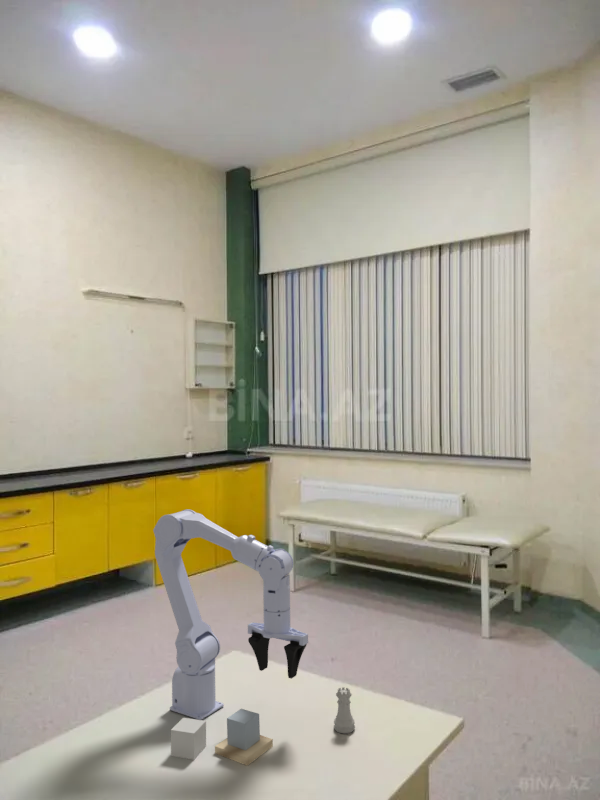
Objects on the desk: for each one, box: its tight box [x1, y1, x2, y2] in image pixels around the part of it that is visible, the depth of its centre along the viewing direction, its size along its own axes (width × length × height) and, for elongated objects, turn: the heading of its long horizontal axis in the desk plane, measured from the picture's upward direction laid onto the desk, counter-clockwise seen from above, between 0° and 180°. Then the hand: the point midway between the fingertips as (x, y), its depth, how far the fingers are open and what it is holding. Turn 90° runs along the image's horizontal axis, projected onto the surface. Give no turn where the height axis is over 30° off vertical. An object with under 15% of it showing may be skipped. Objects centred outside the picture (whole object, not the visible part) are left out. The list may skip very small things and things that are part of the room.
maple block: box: [214, 734, 274, 766], centre depth 118 cm, size 8×8×2 cm
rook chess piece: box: [333, 686, 356, 735], centre depth 125 cm, size 4×4×8 cm
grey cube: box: [170, 717, 207, 761], centre depth 118 cm, size 5×5×5 cm
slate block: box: [226, 708, 261, 750], centre depth 118 cm, size 4×4×5 cm
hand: (277, 672), depth 129 cm, fingers open, 7 cm apart
